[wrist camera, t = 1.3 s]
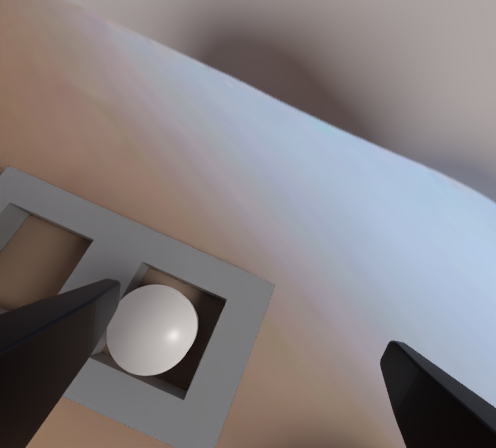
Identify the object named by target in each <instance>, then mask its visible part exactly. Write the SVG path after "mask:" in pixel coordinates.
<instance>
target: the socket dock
mask: <svg viewBox="0 0 496 448" xmlns="http://www.w3.org/2000/svg"><path fill="white" fill-rule="evenodd" d="M30 214H31V215H33V216H36V217H38V218H40V219H42V220H45V221H47V222H49V223H51V224H53V225H56V226H58V227H60V228H62V229H65V230H67V231H69V232H71V233H74V234H76V235H78V236H80V237H83V238H85V239H87V240H89V241H91V242H92V243H91V245H90V246H89V248H88V249H87V251H86V252H85V254H84V255H83V257H82V259H81V260H80V262H79V263H78V265H77V266H76V268H75V269H74V271H73V272H72V274H71V275H70V277H69V278H68V280H67V281H66V283H65V284H64V286H63V287H62V289H61V290H60V292H59V293H58V294H61V293H64V292H67V291H70V290H73V289H76V288H79V287H82V286H85V285H88V284H91V283H94V282H97V281H100V280H103V279H106V278H109V279H114V280H118V281H120V283H121V288H120V296H119V304H118V308H117V310H116V312H115V314H114V316H113V317H112V319H111V321H110V323H109V325H108V326H107V328H106V330H105V332H104V333H103V335H102V337H101V339H100V341H99V342H98V344H97V346H96V348H95V349H94V351H93V353H92V354H91V356H90V357H89V359H88V360H87V362H86V363H85V365H84V366H83V367H82V369H81V370H80V372H79V373H78V374H77V376H76V377H75V379H74V380H73V381H72V383H71V384H70V386H69V387H68V388H67V390H66V391H65V393H64V394H63V395H62V396H63V397H65V398H67V399H69V400H71V401H74V402H76V403H78V404H80V405H82V406H85V407H87V408H89V409H91V410H93V411H96V412H98V413H100V414H102V415H104V416H107V417H109V418H111V419H113V420H115V421H117V422H120V423H122V424H124V425H126V426H128V427H131V428H133V429H135V430H137V431H139V432H142V433H144V434H146V435H148V436H150V437H153V438H155V439H157V440H159V441H161V442H164V443H166V444H168V445H170V446H172V447H175V448H215V446H216V443H217V440H218V438H219V435H220V432H221V430H222V427H223V424H224V422H225V419H226V416H227V414H228V411H229V408H230V406H231V403H232V400H233V398H234V395H235V392H236V390H237V387H238V384H239V382H240V379H241V376H242V373H243V371H244V368H245V365H246V363H247V360H248V357H249V355H250V352H251V349H252V347H253V344H254V341H255V339H256V336H257V333H258V331H259V328H260V325H261V323H262V320H263V317H264V315H265V312H266V309H267V307H268V304H269V301H270V299H271V296H272V293H273V291H274V288H275V284H273V283H271V282H269V281H266V280H264V279H262V278H260V277H257V276H255V275H253V274H251V273H248V272H246V271H244V270H242V269H239V268H237V267H235V266H233V265H230V264H228V263H226V262H224V261H221V260H219V259H217V258H215V257H212V256H210V255H208V254H206V253H203V252H201V251H199V250H197V249H195V248H192V247H190V246H188V245H186V244H183V243H181V242H179V241H177V240H174V239H172V238H170V237H168V236H165V235H163V234H161V233H159V232H156V231H154V230H152V229H150V228H147V227H145V226H143V225H141V224H138V223H136V222H134V221H132V220H129V219H127V218H125V217H123V216H120V215H118V214H116V213H114V212H111V211H109V210H107V209H105V208H103V207H100V206H98V205H96V204H94V203H91V202H89V201H87V200H85V199H82V198H80V197H78V196H76V195H73V194H71V193H69V192H67V191H64V190H62V189H60V188H58V187H55V186H53V185H51V184H49V183H46V182H44V181H42V180H40V179H37V178H35V177H33V176H31V175H28V174H26V173H24V172H22V171H19V170H17V169H15V168H13V167H11V166H8V167H7V168H6V169H5V170H4V172H3V173H2V174H1V175H0V252H1V250H2V249H3V248H4V247H5V245H6V244H7V243H8V241H9V240H10V239H11V238H12V236H13V235H14V234H15V233H16V231H17V230H18V229H19V227H20V226H21V225H22V224H23V222H24V221H25V220H26V218H27V217H28V216H29V215H30ZM149 267H150V268H152V269H154V270H156V271H158V272H161V273H163V274H165V275H167V276H170V277H172V278H174V279H176V280H179V281H181V282H183V283H185V284H188V285H190V286H192V287H194V288H196V289H199V290H201V291H203V292H205V293H208V294H210V295H212V296H214V297H217V298H219V299H221V300H223V301H226V302H225V304H224V306H223V308H222V311H221V313H220V315H219V318H218V320H217V322H216V325H215V327H214V329H213V332H212V334H211V336H210V339H209V341H208V343H207V345H206V348H205V350H204V352H203V355H202V357H201V359H200V362H199V364H198V366H197V369H196V371H195V373H194V376H193V378H192V380H191V382H190V385H189V387H188V389H187V391H185V390H183V389H181V388H179V387H177V386H174V385H172V384H170V383H168V382H165V381H163V380H161V379H159V378H157V377H154V376H152V375H156V374H160V373H162V372H165V371H167V370H169V369H171V368H172V367H173V366H175V365H176V364H177V363H178V362H179V361H180V360H181V359H182V358H183V357H184V356H185V354H186V353H187V352H188V350H189V349H190V347H191V346H192V344H193V343H194V341H195V339H196V336H197V333H198V329H199V319H198V314H197V311H196V309H195V307H194V306H193V304H192V303H191V302H190V301H189V300H188V299H187V298H186V297H185V296H184V295H182V294H181V293H180V292H179V291H177V290H175V289H174V288H171V287H169V286H165V285H158V284H155V285H147V286H143V287H140V288H138V286H139V284H140V283H141V281H142V279H143V277H144V275H145V274H146V272H147V270H148V268H149ZM137 288H138V289H137ZM8 311H9V310H6V309H4V308H2V307H0V314H2V313H5V312H8ZM106 343H107V344H108V348H109V351H110V353H111V355H112V357H113V358H112V357H110V356H108V355H106V354H104V353H101V352H102V350H103V349H104V347H105V345H106Z"/></svg>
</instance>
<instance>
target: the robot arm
mask: <svg viewBox="0 0 496 448" xmlns="http://www.w3.org/2000/svg"><path fill="white" fill-rule="evenodd" d="M120 288H121V283H120V281H118V280H114V279H109V278H106V279H103V280H100V281H97V282H94V283H91V284H88V285H85V286H82V287H79V288H76V289H73V290H70V291H67V292H64V293H61V294H58V295H55V296H52V297H49V298H47V299H44V300H41V301H38V302H35V303H32V304H29V305H26V306H23V307H20V308H17V309H14V310H11V311H8V312H5V313H2V314H0V448H26V446H27V445H28V443H29V442H30V440H31V439H32V438H33V436H34V435H35V433H36V432H37V431H38V429H39V428H40V426H41V425H42V424H43V422H44V421H45V419H46V418H47V417H48V415H49V414H50V412H51V411H52V410H53V408H54V407H55V405H56V404H57V403H58V401H59V400H60V398H61V397H62V395H63V394H64V393H65V391H66V390H67V388H68V387H69V386H70V384H71V383H72V381H73V380H74V379H75V377H76V376H77V374H78V373H79V372H80V370H81V369H82V367H83V366H84V365H85V363H86V362H87V360H88V359H89V357H90V356H91V354H92V353H93V351H94V349H95V348H96V346H97V344H98V342H99V341H100V339H101V337H102V335H103V333H104V332H105V330H106V328H107V326H108V325H109V323H110V321H111V319H112V317H113V316H114V314H115V312H116V310H117V308H118V304H119V296H120ZM380 366H381V370H382V374H383V377H384V381H385V385H386V388H387V392H388V395H389V399H390V402H391V406H392V409H393V412H394V415H395V418H396V421H397V424H398V427H399V429H400V432H401V434H402V437H403V440H404V442H405V445H406V448H496V408H495V407H494V406H492V405H491V404H489V403H488V402H487V401H485V400H484V399H482V398H481V397H480V396H478V395H477V394H475V393H474V392H473V391H471V390H470V389H468V388H467V387H466V386H464V385H463V384H461V383H460V382H459V381H457V380H456V379H454V378H453V377H452V376H450V375H449V374H447V373H446V372H445V371H443V370H442V369H440V368H439V367H438V366H436V365H435V364H433V363H432V362H431V361H429V360H428V359H426V358H425V357H423V356H422V355H421V354H419V353H418V352H416V351H415V350H414V349H412V348H411V347H409V346H408V345H407V344H405V343H403V342H398V341H390V342H389V344H388V345H387V348H386V350H385V352H384V354H383V356H382V358H381V361H380Z"/></svg>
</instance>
